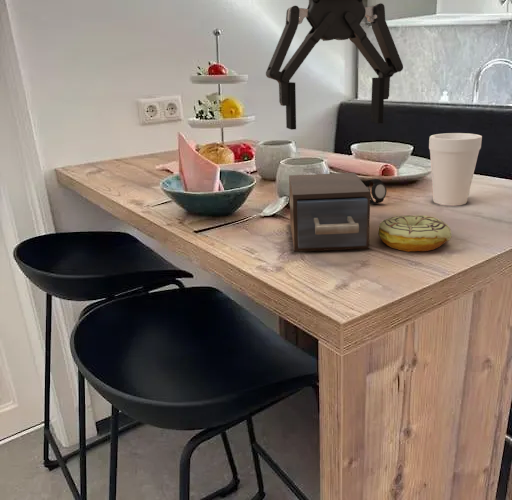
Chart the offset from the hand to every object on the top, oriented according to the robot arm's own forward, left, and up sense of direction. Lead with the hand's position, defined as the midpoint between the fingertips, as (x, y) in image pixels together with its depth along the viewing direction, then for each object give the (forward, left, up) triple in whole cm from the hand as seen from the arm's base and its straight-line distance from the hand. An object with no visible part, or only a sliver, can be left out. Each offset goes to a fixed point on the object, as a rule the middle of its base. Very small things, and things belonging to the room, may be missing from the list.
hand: (334, 125), depth 76 cm
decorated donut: (-12, +2, -19) cm, 22 cm away
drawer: (+1, +1, -18) cm, 18 cm away
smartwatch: (-11, -23, -19) cm, 31 cm away
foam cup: (-26, -22, -19) cm, 39 cm away
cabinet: (+1, -3, -19) cm, 19 cm away
